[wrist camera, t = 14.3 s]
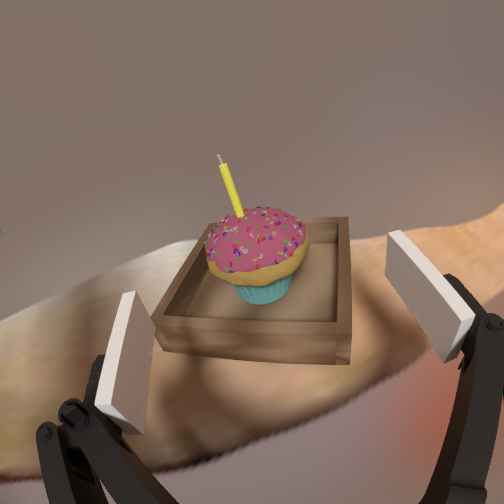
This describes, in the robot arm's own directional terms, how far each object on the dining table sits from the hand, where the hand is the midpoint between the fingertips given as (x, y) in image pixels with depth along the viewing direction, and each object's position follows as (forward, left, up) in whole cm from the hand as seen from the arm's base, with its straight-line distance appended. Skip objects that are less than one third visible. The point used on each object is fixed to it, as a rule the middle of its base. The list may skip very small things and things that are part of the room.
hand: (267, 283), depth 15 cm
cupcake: (-3, +9, -8) cm, 13 cm away
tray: (-3, +9, -9) cm, 13 cm away
